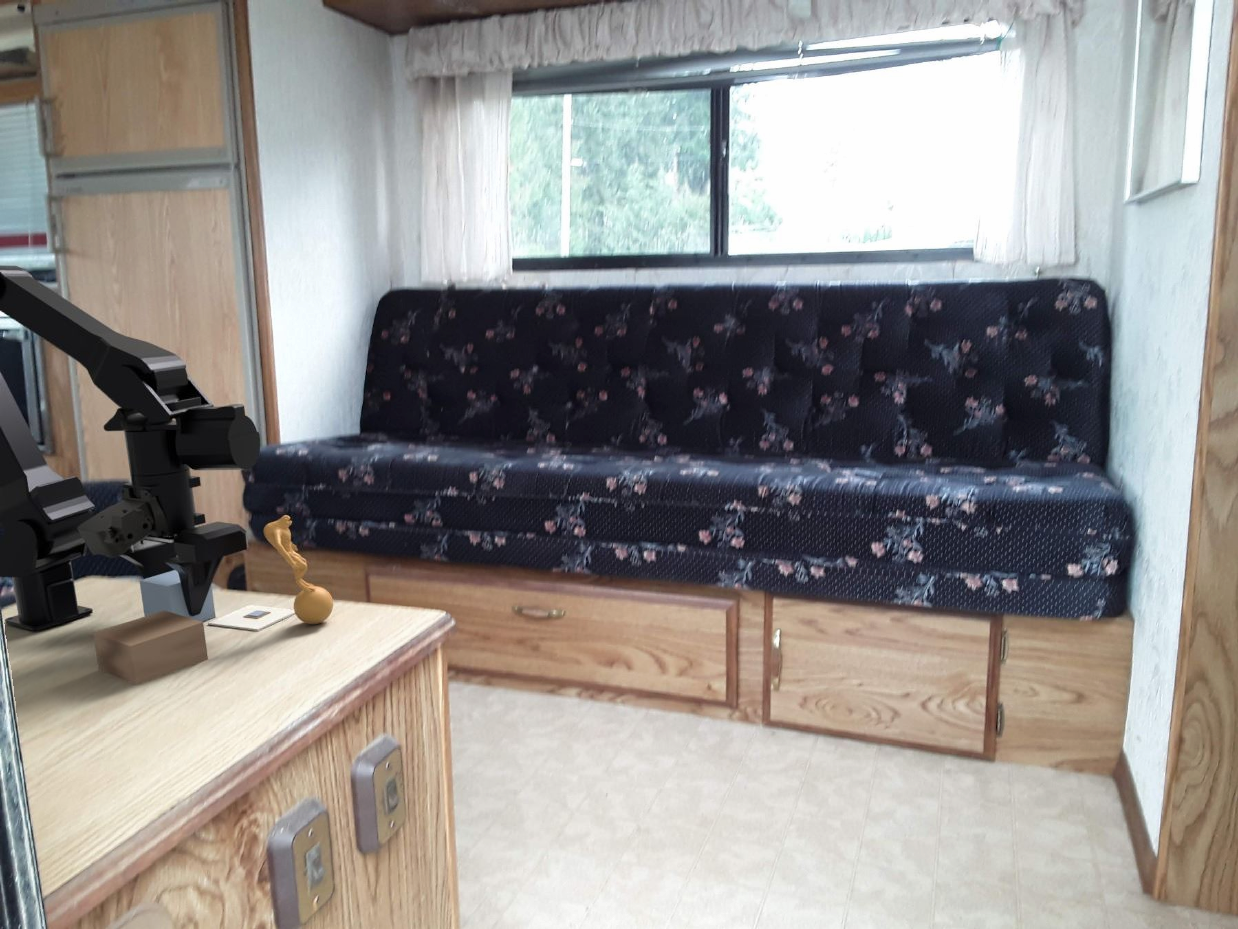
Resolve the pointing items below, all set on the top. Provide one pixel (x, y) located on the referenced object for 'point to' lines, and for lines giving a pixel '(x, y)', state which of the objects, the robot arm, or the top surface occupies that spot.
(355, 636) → the top surface
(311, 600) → the figurine
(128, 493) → the robot arm
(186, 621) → the base brick
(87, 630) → the top surface
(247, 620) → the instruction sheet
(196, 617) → the blue brick
